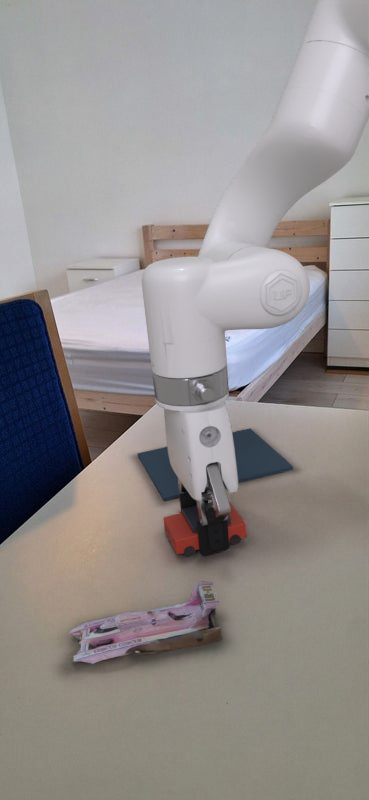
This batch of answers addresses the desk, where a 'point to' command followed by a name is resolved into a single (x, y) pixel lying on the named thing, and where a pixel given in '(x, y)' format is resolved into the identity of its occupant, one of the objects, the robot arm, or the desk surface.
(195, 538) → the red toy vehicle
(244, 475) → the mat
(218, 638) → the toy boat
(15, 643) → the desk surface
